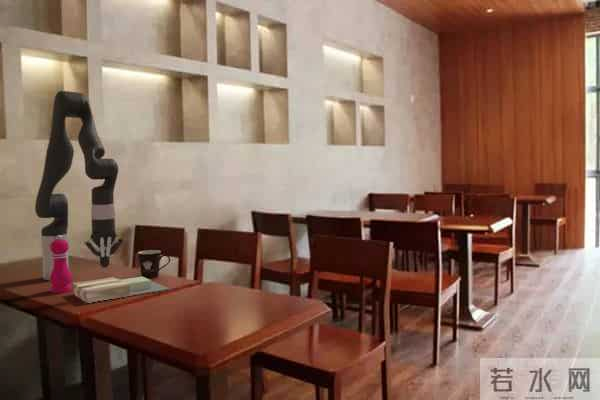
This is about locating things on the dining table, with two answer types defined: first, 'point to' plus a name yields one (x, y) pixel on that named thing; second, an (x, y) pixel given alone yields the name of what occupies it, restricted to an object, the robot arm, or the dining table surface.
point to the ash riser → (101, 289)
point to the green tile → (138, 283)
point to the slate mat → (154, 288)
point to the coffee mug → (150, 263)
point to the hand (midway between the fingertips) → (104, 267)
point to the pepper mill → (60, 266)
